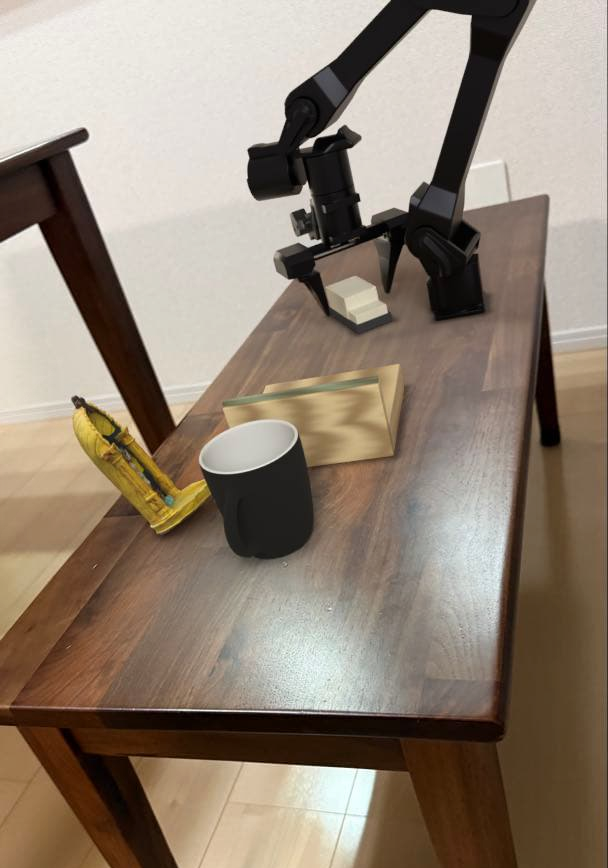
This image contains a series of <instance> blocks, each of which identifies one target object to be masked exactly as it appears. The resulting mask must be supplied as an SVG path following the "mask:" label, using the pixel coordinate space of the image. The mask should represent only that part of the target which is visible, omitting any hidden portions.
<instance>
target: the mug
mask: <svg viewBox="0 0 608 868" xmlns="http://www.w3.org/2000/svg"><path fill="white" fill-rule="evenodd" d="M198 464H199V468H200V471H201V473H202V476H203V478H204V479H205V481H206V483H207V486H208V488H209V490H210V492H211V495H212V496H211V497H212V498H213V501H214V503H215V505H216V507H217V510H218V512H219V513H220V515H221V517H222V520H223V521H222V522H223V530H224V536H225V539H226V542H227V544H228V546H229V548H230V549H231V551H232V552H233V553H234V554H235V555H236V556H238V557H240V558H246V559H248V558H252V557H254V558H258V559H262V560H275V559H279V558H284V557H287V556H289V555H291V554H293V553H295V552H297V551H298V550H300V549H301V548H302V547H304V546H305V544H307V542H308V541H309V539H310V538H311V536H312V533H313V530H314V529H313V528H314V523H315V513H314V511H315V510H314V500H313V492H312V484H311V480H310V474H309V473H310V472H309V467H307V463H306V459H305V455H304V450H303V446H302V443H301V439H300V436H299V433H298V431H297V429H296V427H295V426H294V425H292V424H291V423H289V422H286V421H283V420H277V419H264V420H256V421H251V422H247V423H244V424H241V425H238V426H235V427H232V428H230V429H229V428H228V429H226V430H224V431H222V432H221V433H218V434H217V435H216V436H214V437H213V438H211V439H210V440H209V441H208V442H207V443H206V444H205V445H204V446H203V448H202V449H201V451H200V452H199V456H198ZM204 479H203V480H204Z"/></svg>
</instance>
